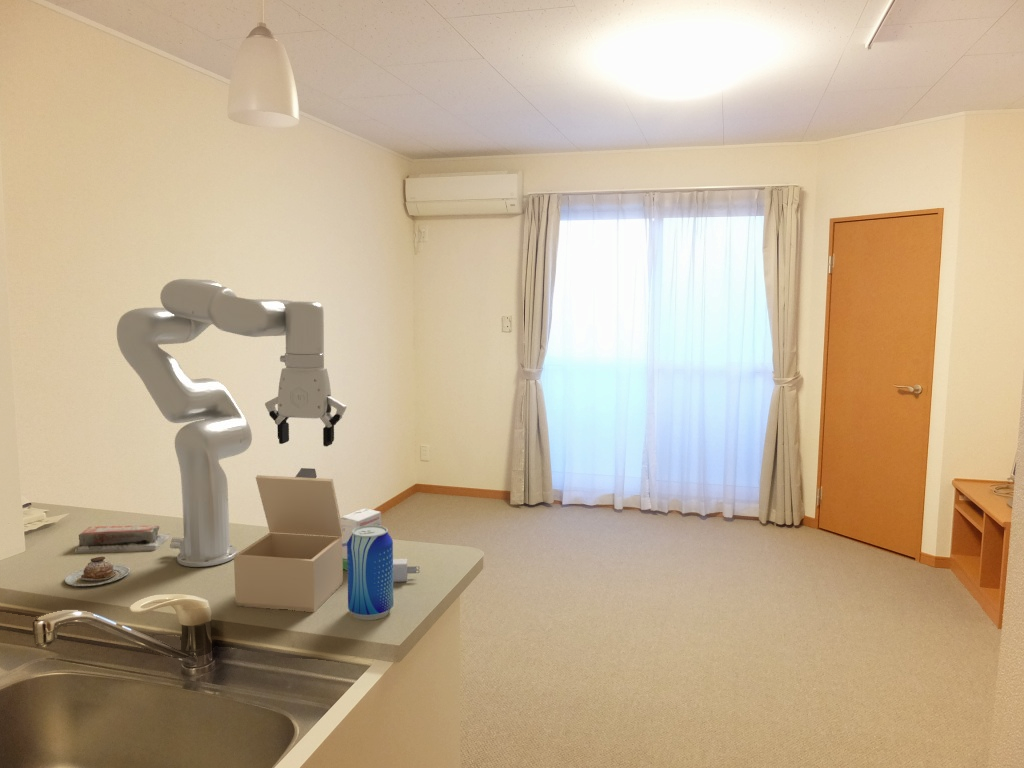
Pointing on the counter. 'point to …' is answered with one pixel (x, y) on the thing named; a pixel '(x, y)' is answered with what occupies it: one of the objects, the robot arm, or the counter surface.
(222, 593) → the counter surface
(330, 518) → the tan labeled panel
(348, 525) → the ink box
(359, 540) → the beer can
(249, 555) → the carton
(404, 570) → the usb wall charger
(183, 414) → the robot arm
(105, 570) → the pastry
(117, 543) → the packaged product
